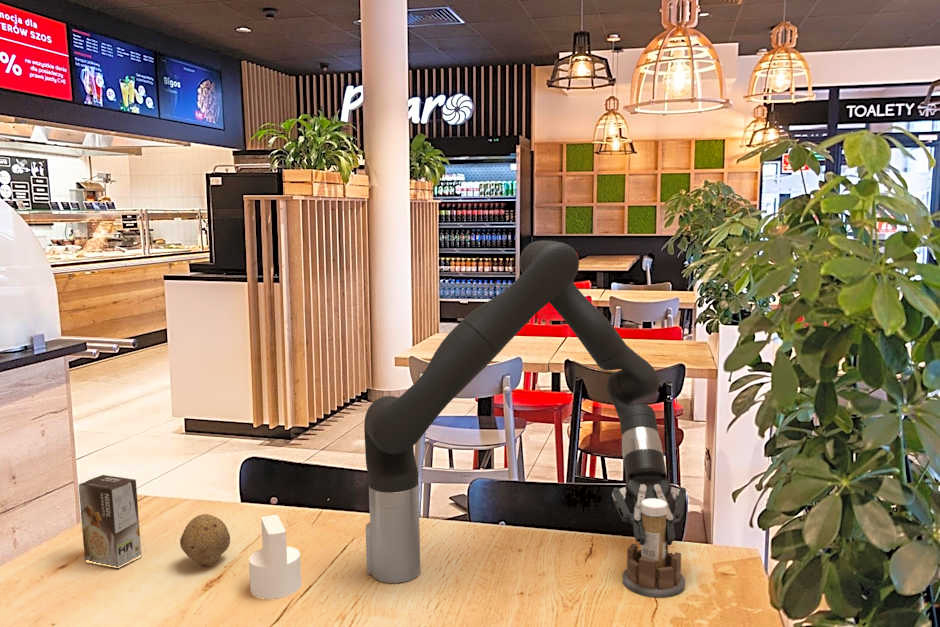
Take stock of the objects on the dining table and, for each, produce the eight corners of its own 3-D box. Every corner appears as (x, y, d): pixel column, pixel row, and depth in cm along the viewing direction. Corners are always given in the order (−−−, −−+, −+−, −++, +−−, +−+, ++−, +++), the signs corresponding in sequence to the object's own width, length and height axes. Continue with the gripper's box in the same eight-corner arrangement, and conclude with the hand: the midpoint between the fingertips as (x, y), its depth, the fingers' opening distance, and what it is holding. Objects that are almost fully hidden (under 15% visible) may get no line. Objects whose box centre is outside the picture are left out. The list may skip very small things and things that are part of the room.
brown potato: (171, 571, 148) (167, 521, 147) (199, 552, 157) (196, 504, 155) (212, 577, 146) (210, 526, 145) (239, 557, 154) (236, 508, 153)
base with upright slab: (247, 582, 144) (244, 519, 142) (296, 572, 147) (293, 511, 146) (254, 603, 135) (250, 537, 134) (305, 593, 139) (303, 529, 137)
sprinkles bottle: (671, 574, 140) (672, 503, 139) (653, 581, 138) (654, 508, 136) (652, 565, 144) (653, 495, 143) (634, 571, 142) (635, 500, 140)
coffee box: (143, 557, 155) (138, 479, 153) (118, 570, 149) (112, 489, 147) (108, 550, 158) (103, 473, 156) (82, 563, 153) (76, 484, 151)
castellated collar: (614, 589, 139) (614, 556, 138) (633, 564, 148) (633, 534, 148) (676, 602, 134) (677, 569, 133) (691, 576, 143) (692, 545, 142)
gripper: (608, 447, 146) (618, 535, 135) (684, 446, 146) (701, 535, 135) (603, 465, 152) (613, 551, 141) (676, 465, 152) (692, 551, 141)
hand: (656, 543), depth 138 cm, fingers closed on sprinkles bottle, 4 cm apart
